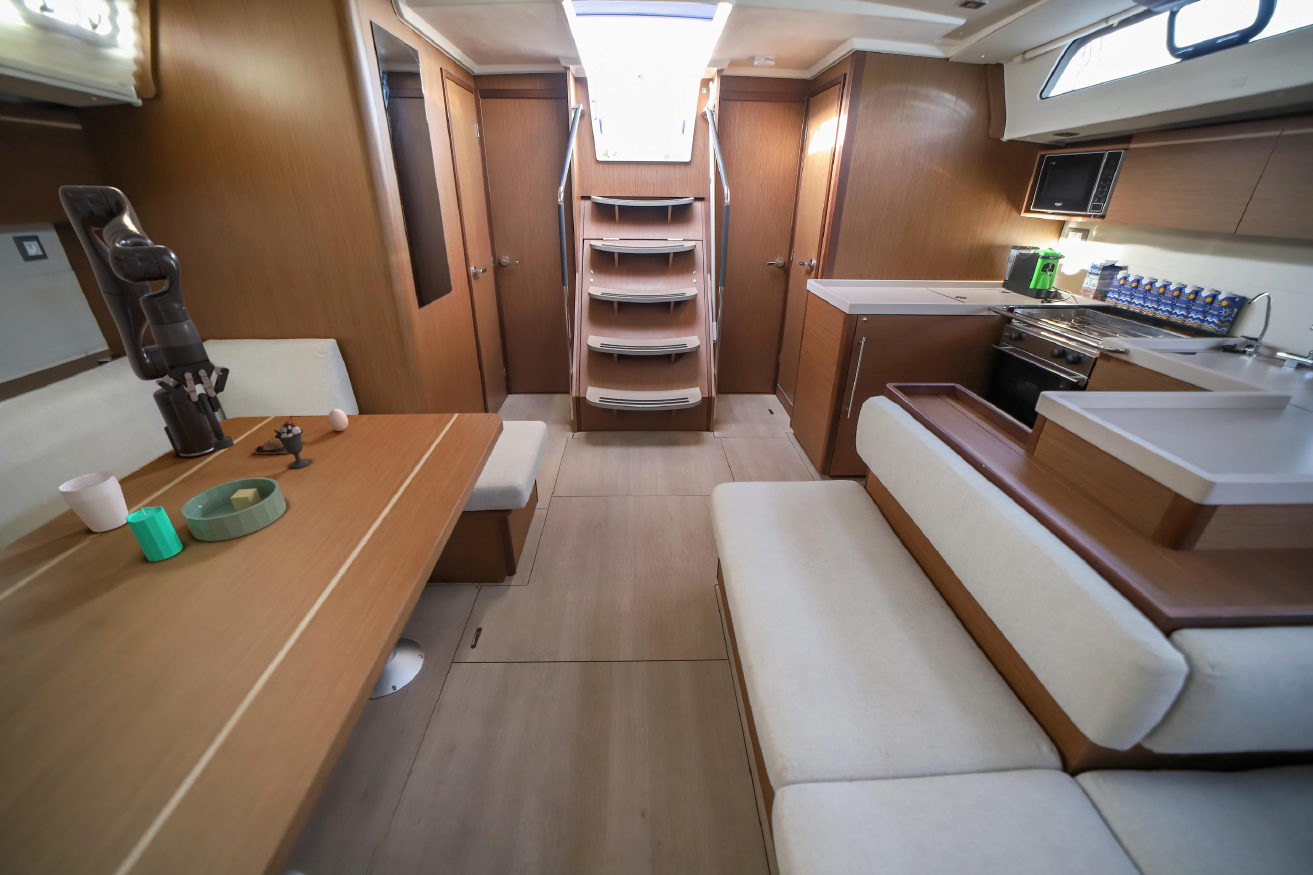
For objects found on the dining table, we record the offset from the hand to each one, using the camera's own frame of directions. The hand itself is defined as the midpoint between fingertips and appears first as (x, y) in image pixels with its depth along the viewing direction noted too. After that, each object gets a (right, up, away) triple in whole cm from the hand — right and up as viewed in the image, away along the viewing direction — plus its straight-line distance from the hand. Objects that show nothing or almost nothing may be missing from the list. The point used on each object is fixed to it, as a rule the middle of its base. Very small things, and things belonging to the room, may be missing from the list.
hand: (209, 412), depth 119 cm
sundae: (+2, -14, +28) cm, 32 cm away
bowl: (+4, -26, +4) cm, 26 cm away
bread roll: (-11, -10, +37) cm, 40 cm away
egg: (0, -4, +49) cm, 49 cm away
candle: (-3, -32, -8) cm, 33 cm away
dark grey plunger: (0, -8, +4) cm, 9 cm away
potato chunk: (+4, -23, +7) cm, 25 cm away
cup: (-25, -27, +1) cm, 37 cm away
